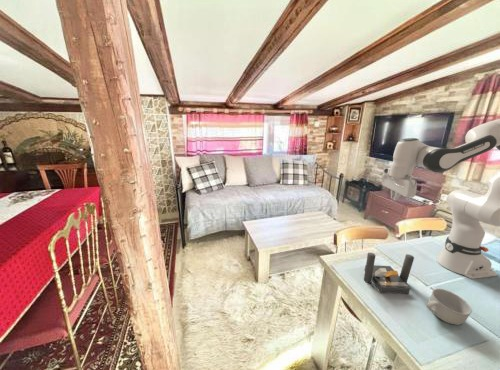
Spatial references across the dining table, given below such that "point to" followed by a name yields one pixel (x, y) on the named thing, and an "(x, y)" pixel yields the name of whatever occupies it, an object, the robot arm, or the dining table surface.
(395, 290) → the black flat block
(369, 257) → the post
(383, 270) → the paddle right
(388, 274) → the paddle centre
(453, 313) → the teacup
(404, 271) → the post
